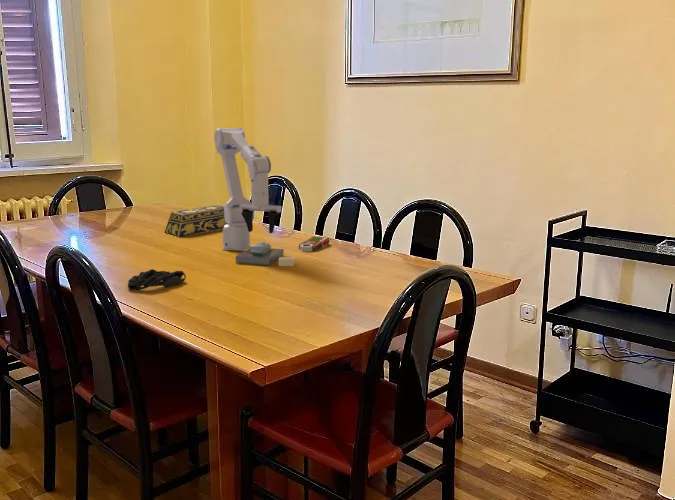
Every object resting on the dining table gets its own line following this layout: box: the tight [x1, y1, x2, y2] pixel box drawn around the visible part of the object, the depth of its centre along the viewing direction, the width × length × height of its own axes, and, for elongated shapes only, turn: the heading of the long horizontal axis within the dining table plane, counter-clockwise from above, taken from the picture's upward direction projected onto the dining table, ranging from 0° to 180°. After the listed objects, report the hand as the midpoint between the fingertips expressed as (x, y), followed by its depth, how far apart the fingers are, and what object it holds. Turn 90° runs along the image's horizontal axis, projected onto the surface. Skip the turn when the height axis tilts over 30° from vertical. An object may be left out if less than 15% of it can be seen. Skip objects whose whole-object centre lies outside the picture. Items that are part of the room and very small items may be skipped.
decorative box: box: [163, 204, 227, 238], centre depth 275 cm, size 11×30×9 cm, turn 137°
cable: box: [127, 268, 187, 291], centre depth 199 cm, size 17×14×4 cm
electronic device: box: [298, 235, 330, 253], centre depth 245 cm, size 7×3×15 cm
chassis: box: [235, 247, 285, 266], centre depth 228 cm, size 12×14×3 cm
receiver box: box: [278, 256, 295, 267], centre depth 221 cm, size 5×4×2 cm
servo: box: [251, 240, 272, 255], centre depth 228 cm, size 4×9×6 cm, turn 165°
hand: (260, 231), depth 227 cm, fingers open, 7 cm apart
